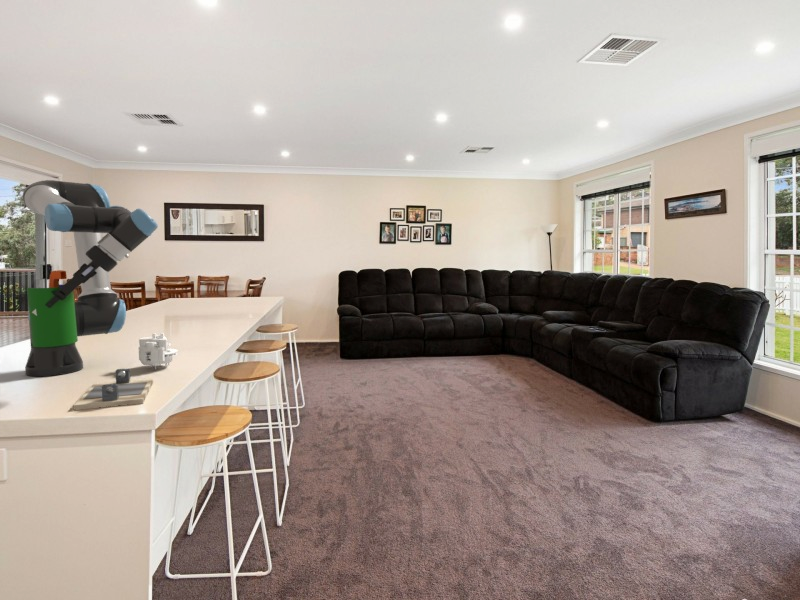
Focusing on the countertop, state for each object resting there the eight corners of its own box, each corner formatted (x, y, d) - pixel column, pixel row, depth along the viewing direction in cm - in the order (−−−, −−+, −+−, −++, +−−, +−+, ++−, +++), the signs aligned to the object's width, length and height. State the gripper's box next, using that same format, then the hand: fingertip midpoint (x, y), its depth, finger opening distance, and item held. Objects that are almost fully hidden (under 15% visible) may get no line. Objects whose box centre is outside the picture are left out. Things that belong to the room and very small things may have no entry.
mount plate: (94, 387, 133) (94, 382, 132) (153, 382, 138) (153, 377, 138) (73, 410, 113) (73, 404, 113) (143, 403, 119) (142, 398, 119)
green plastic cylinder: (52, 339, 130) (46, 268, 128) (85, 339, 131) (80, 269, 129) (26, 347, 120) (20, 271, 118) (62, 347, 121) (57, 271, 119)
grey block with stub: (117, 382, 134) (116, 369, 133) (130, 381, 135) (129, 368, 134) (115, 385, 131) (114, 371, 130) (128, 383, 132) (127, 371, 132)
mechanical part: (184, 363, 162) (183, 330, 161) (164, 372, 150) (162, 336, 149) (154, 362, 163) (153, 329, 162) (131, 371, 151) (130, 335, 150)
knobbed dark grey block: (105, 397, 119) (104, 383, 119) (119, 396, 120) (118, 382, 120) (102, 401, 116) (101, 386, 116) (117, 400, 117) (116, 385, 117)
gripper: (119, 263, 123) (47, 328, 116) (118, 262, 140) (55, 318, 133) (94, 243, 120) (18, 308, 113) (97, 244, 137) (31, 301, 130)
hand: (39, 313), depth 123 cm, fingers closed on green plastic cylinder, 7 cm apart
